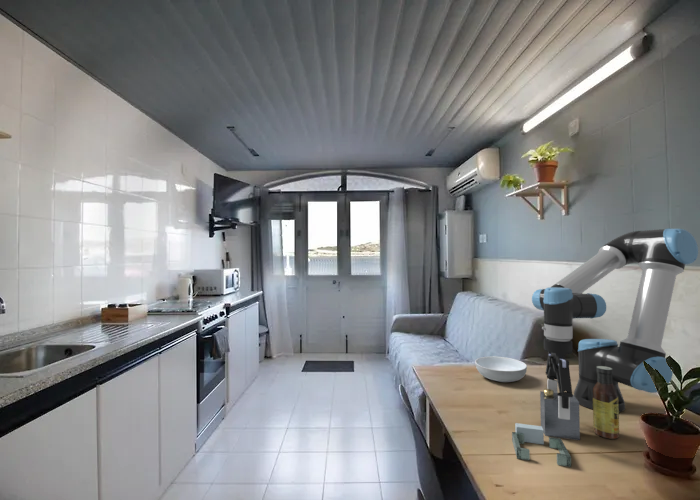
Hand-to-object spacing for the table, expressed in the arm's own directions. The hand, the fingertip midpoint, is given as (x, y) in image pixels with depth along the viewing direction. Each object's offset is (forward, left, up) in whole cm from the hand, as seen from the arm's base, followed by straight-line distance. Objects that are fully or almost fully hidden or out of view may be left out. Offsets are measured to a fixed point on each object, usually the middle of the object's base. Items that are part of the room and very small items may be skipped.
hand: (557, 409), depth 106 cm
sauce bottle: (-13, -3, -7) cm, 16 cm away
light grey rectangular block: (+9, +7, -7) cm, 14 cm away
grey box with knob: (0, 0, -7) cm, 7 cm away
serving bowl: (+12, -46, -8) cm, 48 cm away
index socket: (+8, +14, -7) cm, 17 cm away
